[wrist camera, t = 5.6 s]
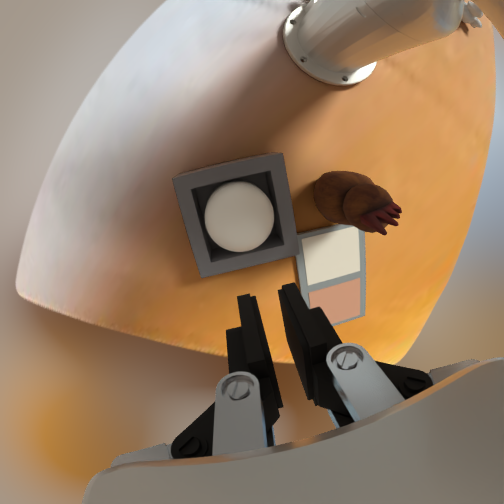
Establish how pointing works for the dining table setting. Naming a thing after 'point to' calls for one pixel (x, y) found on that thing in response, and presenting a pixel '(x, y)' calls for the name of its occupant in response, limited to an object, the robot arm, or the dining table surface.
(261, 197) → the dome
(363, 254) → the grey flat tray
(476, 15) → the rubber duck
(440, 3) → the robot arm
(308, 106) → the dining table surface
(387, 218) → the wooden figurine
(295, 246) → the dome housing
